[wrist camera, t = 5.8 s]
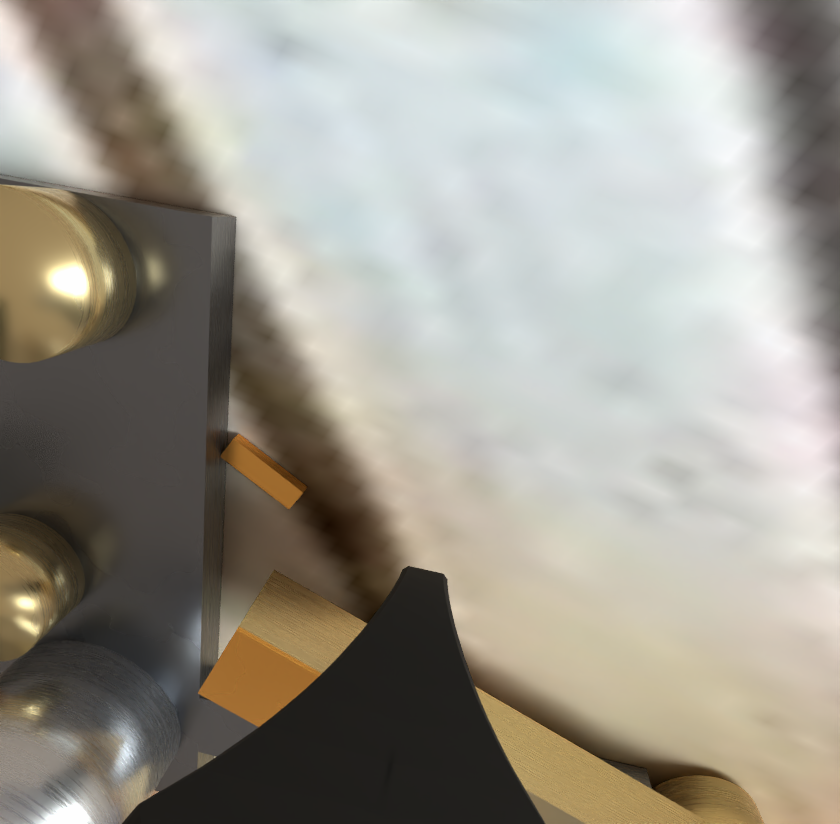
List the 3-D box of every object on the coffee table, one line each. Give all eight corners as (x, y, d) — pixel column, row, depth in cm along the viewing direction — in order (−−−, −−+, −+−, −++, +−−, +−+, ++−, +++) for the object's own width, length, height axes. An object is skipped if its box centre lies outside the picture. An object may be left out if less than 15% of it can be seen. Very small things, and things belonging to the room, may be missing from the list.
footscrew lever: (784, 813, 14) (860, 968, 11) (703, 870, 15) (753, 1024, 12) (300, 527, 13) (244, 616, 10) (249, 610, 14) (185, 711, 11)
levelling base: (604, 864, 16) (661, 1192, 10) (29, 722, 17) (-185, 954, 12) (843, 326, 10) (1228, 445, 5) (-41, 166, 11) (-518, 120, 6)
